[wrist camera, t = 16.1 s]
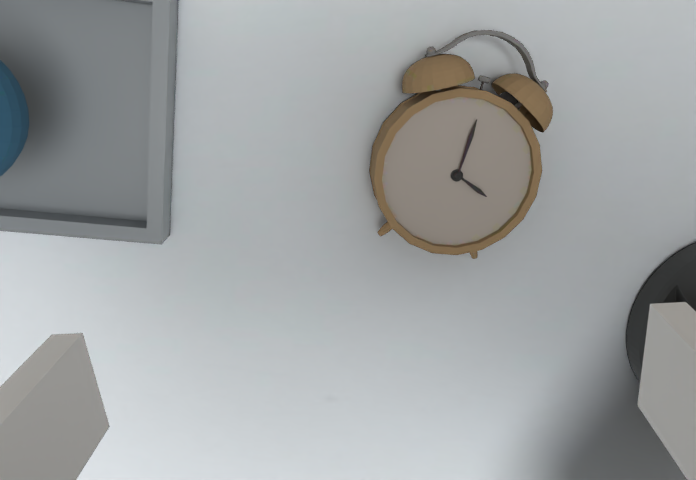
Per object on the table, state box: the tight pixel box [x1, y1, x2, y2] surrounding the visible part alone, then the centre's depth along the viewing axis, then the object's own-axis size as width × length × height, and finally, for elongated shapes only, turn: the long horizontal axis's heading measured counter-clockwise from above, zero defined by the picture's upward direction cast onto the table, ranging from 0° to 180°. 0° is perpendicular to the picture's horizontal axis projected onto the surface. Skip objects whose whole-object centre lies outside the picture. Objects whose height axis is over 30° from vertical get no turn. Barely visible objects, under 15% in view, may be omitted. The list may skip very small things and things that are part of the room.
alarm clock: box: [369, 30, 553, 259], centre depth 39 cm, size 11×5×15 cm
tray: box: [0, 0, 178, 244], centre depth 36 cm, size 20×16×2 cm
